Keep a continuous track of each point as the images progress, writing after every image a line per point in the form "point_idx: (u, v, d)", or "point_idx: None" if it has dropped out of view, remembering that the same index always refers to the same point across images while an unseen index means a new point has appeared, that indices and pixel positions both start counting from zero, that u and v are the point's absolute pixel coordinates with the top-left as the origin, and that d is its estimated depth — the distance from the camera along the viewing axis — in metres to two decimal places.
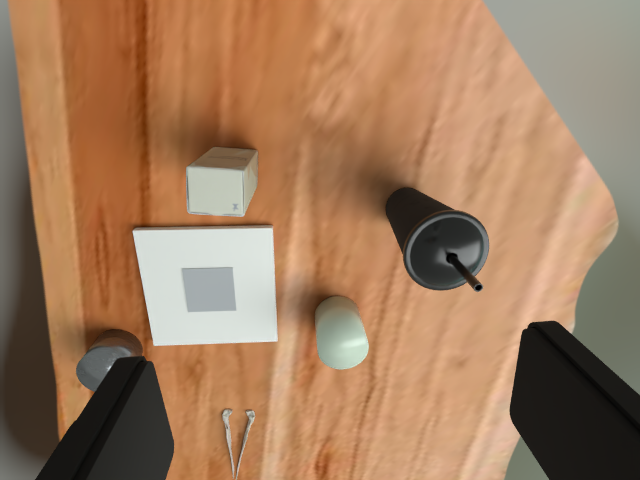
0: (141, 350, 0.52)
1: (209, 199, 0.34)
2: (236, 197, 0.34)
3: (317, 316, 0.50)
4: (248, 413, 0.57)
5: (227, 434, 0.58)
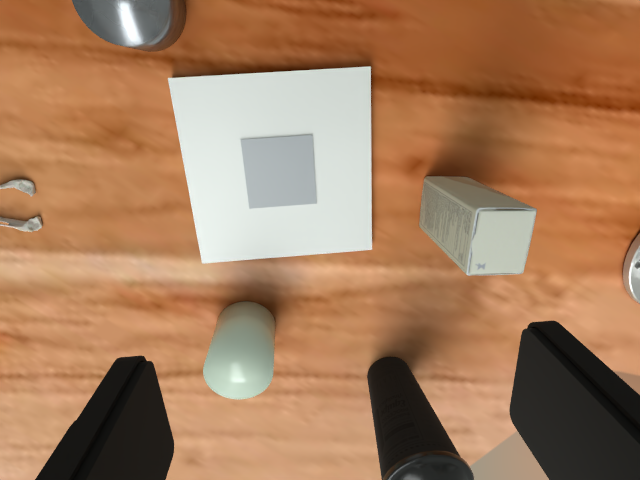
0: (149, 51, 0.30)
1: (493, 236, 0.27)
2: (492, 267, 0.27)
3: (253, 313, 0.38)
4: (34, 220, 0.35)
5: None
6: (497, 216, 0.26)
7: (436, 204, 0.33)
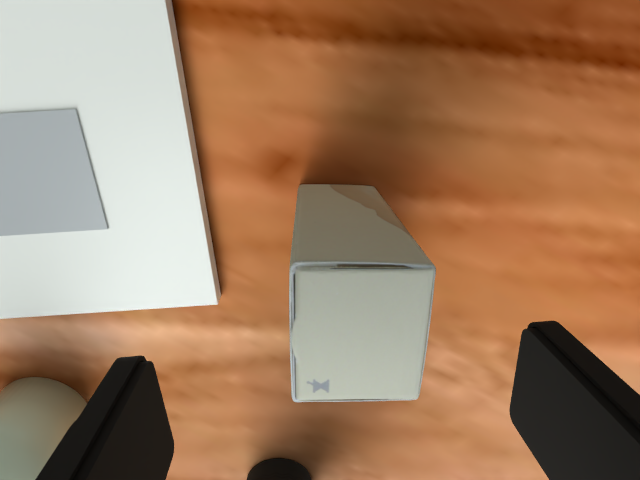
0: None
1: (337, 325, 0.12)
2: (347, 388, 0.12)
3: (31, 401, 0.24)
4: None
5: None
6: (340, 282, 0.11)
7: None
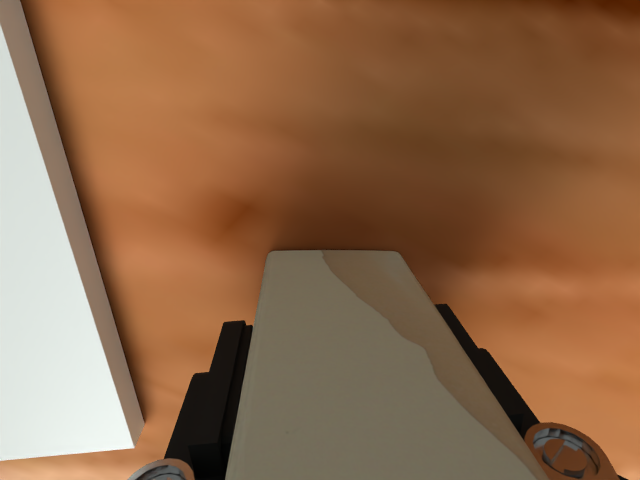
0: None
1: None
2: None
3: None
4: None
5: None
6: None
7: None
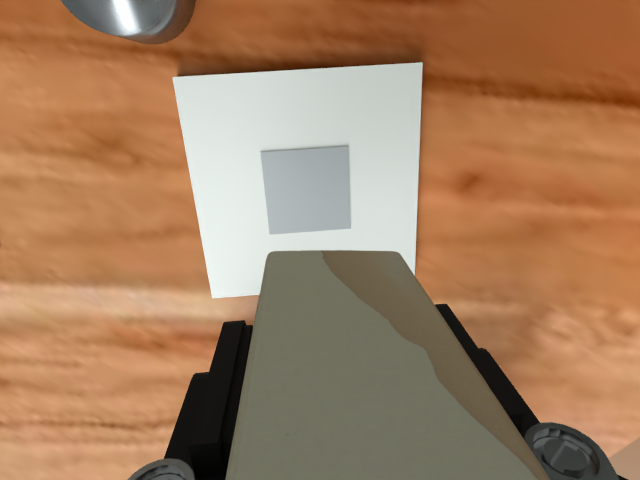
0: (149, 43, 0.25)
1: None
2: None
3: None
4: None
5: None
6: None
7: None
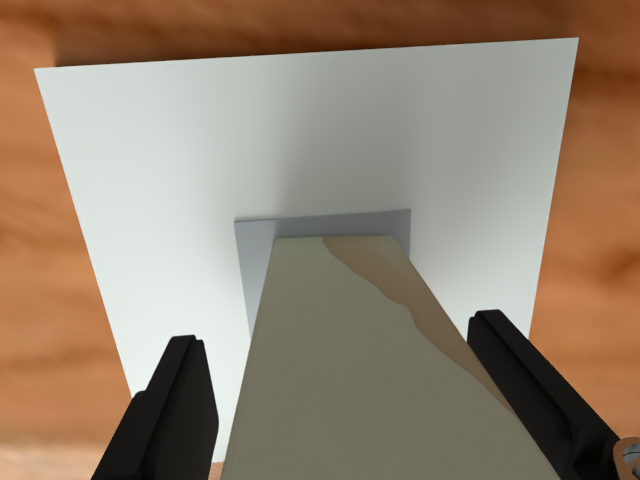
0: None
1: None
2: None
3: None
4: None
5: None
6: None
7: None
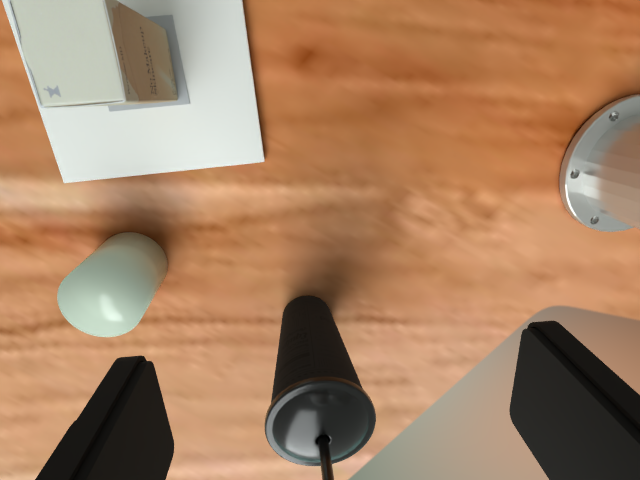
0: None
1: (49, 39, 0.18)
2: (72, 92, 0.19)
3: (131, 241, 0.33)
4: None
5: None
6: (40, 4, 0.18)
7: None
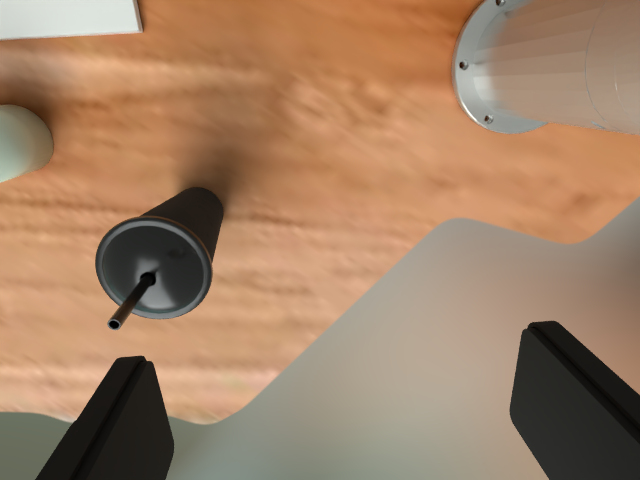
0: None
1: None
2: None
3: (7, 108, 0.33)
4: None
5: None
6: None
7: None
